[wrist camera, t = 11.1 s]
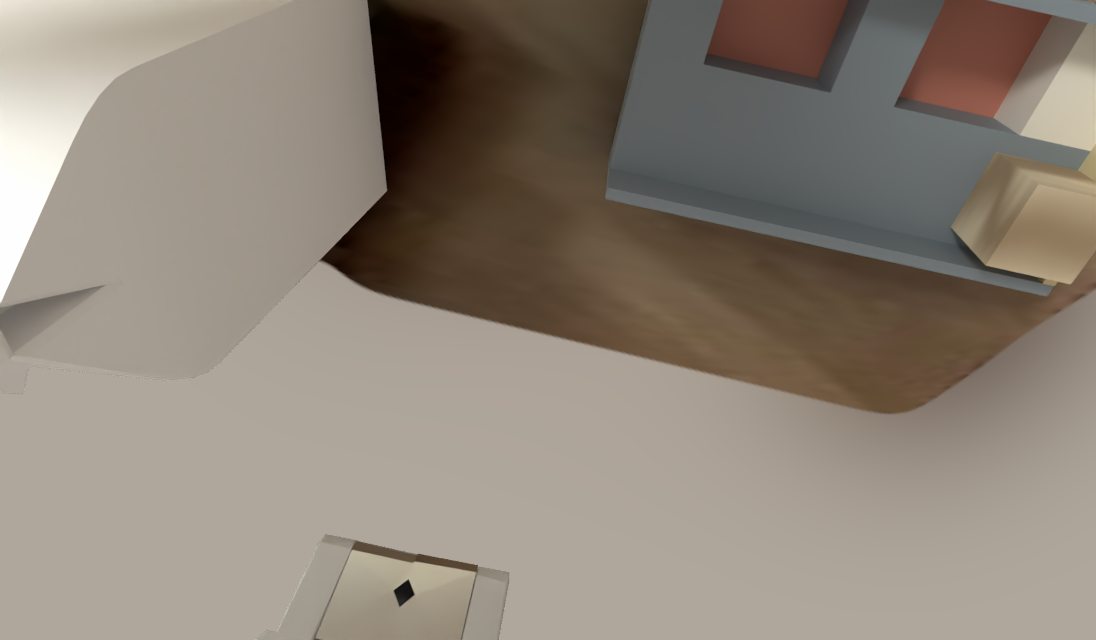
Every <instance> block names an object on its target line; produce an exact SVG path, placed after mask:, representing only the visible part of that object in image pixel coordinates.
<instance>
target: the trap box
mask: <svg viewBox="0 0 1096 640" xmlns="http://www.w3.org/2000/svg"><path fill="white" fill-rule="evenodd" d="M995 152H999V153H1004V154H1008V155H1013V156H1017V157H1021V158H1026V159H1030V160H1035V161H1039V162H1044V163H1048V164H1052V165H1057V166H1061V167H1066V168H1070V169H1075V170H1078V171H1080V172H1081V173H1083V174H1084V175H1086V176H1087V177H1089V178H1090V179H1092V180H1093V181H1095V182H1096V3H1095V2H1091V1H1086V0H648V4H647V8H646V12H645V16H644V20H643V24H642V28H641V32H640V36H639V40H638V44H637V48H636V52H635V56H634V60H633V64H632V68H631V72H630V76H629V80H628V84H627V88H626V92H625V96H624V100H623V104H622V108H621V112H620V116H619V120H618V124H617V128H616V132H615V136H614V140H613V144H612V148H611V152H610V156H609V162H608V173H607V183H606V194H605V199H607V200H612V201H616V202H621V203H625V204H630V205H634V206H639V207H643V208H648V209H652V210H657V211H661V212H666V213H671V214H675V215H680V216H684V217H689V218H693V219H698V220H702V221H707V222H711V223H716V224H720V225H725V226H729V227H734V228H738V229H743V230H748V231H752V232H757V233H761V234H766V235H770V236H775V237H779V238H784V239H788V240H793V241H797V242H802V243H806V244H811V245H815V246H820V247H825V248H829V249H834V250H838V251H843V252H847V253H852V254H856V255H861V256H865V257H870V258H874V259H879V260H883V261H888V262H892V263H897V264H902V265H906V266H911V267H915V268H920V269H924V270H929V271H933V272H938V273H942V274H947V275H951V276H956V277H960V278H965V279H969V280H974V281H979V282H983V283H988V284H992V285H997V286H1001V287H1006V288H1010V289H1015V290H1019V291H1024V292H1028V293H1033V294H1037V295H1042V296H1046V297H1047V296H1048V295H1049V293H1050V292H1051V291H1052V289H1053V288H1054V286H1055V285H1056V284H1057V281H1053V280H1048V279H1044V278H1039V277H1035V276H1030V275H1026V274H1022V273H1017V272H1013V271H1008V270H1004V269H999V268H995V267H990V266H986V265H985V264H984V263H983V262H982V261H981V260H980V259H979V258H978V257H977V255H976V254H975V253H974V252H973V251H972V250H971V249H970V248H969V247H968V246H967V244H966V243H965V242H964V241H963V240H962V239H961V238H960V237H959V236H958V235H957V233H956V232H955V231H954V230H953V229H952V228H951V226H952V224H953V222H954V221H955V219H956V217H957V216H958V214H959V212H960V211H961V209H962V207H963V206H964V204H965V202H966V201H967V199H968V197H969V196H970V194H971V192H972V191H973V189H974V187H975V186H976V184H977V182H978V180H979V179H980V177H981V175H982V174H983V172H984V170H985V169H986V167H987V165H988V164H989V162H990V160H991V159H992V157H993V155H994V154H995Z"/></svg>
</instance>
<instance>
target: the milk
mask: <svg viewBox="0 0 1096 640" xmlns="http://www.w3.org/2000/svg"><path fill="white" fill-rule="evenodd" d="M386 191H387V185H386V176H385V166H384V156H383V147H382V137H381V128H380V118H379V109H378V99H377V89H376V80H375V70H374V61H373V51H372V42H371V32H370V22H369V13H368V3H367V0H0V393H4V394H23V392H24V388H25V383H26V379H27V374H28V370H29V367H38V368H48V369H57V370H67V371H77V372H86V373H97V374H107V375H115V376H125V377H135V378H145V379H155V380H175V379H185V378H194V377H197V376H199V375H202V374H204V373H207V372H209V371H210V370H211V369H213V368H214V367H215V366H216V365H218V364H219V363H220V362H221V361H222V360H223V359H224V358H225V357H226V356H227V355H228V354H229V353H230V352H231V351H232V350H233V349H234V348H235V347H236V346H237V345H238V344H239V343H240V342H241V341H242V340H243V339H244V338H245V337H246V336H247V335H248V334H249V333H250V331H251V330H252V329H253V328H254V327H255V326H256V325H257V324H258V323H259V322H260V321H261V320H262V319H263V318H264V317H265V316H266V315H267V314H268V313H269V312H270V311H271V310H272V309H273V308H274V307H275V306H276V305H277V304H278V303H279V302H280V301H281V299H283V298H284V296H285V295H286V294H287V293H288V292H289V291H290V290H291V289H292V288H293V287H294V286H295V285H296V284H297V283H298V282H299V281H300V280H301V279H302V278H303V277H304V276H305V275H306V274H307V273H308V272H309V271H310V270H311V269H312V267H314V266H315V265H316V264H317V262H318V261H319V260H320V259H321V258H322V257H323V256H324V255H325V254H326V253H327V252H328V251H329V250H330V249H331V248H332V247H333V246H334V245H335V244H336V243H337V242H338V241H339V240H340V239H341V238H342V237H343V236H344V235H345V234H346V233H347V232H348V231H349V230H350V229H351V227H352V226H353V225H354V224H355V223H356V222H357V221H358V220H359V219H360V218H361V217H362V216H363V215H364V214H365V213H366V212H367V211H368V210H369V209H370V208H371V207H372V206H373V205H374V204H375V203H376V202H377V201H378V200H379V199H380V198H381V197H382V196H383V195H384V194H385V192H386Z"/></svg>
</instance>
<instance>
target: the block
mask: <svg viewBox="0 0 1096 640" xmlns="http://www.w3.org/2000/svg"><path fill="white" fill-rule="evenodd" d="M951 228H952V229H953V230H954V231H955V232H956V233H957V235H958V236H959V237H960V238H961V239H962V240H963V241H964V242H965V243H966V244H967V246H968V247H969V248H970V249H971V250H972V251H973V252H974V253H975V254H976V255H977V257H978V258H979V259H980V260H981V261H982V262H983V263H984V264H985V265H986V266H990V267H995V268H999V269H1004V270H1008V271H1013V272H1017V273H1022V274H1026V275H1030V276H1035V277H1039V278H1044V279H1048V280H1053V281H1057V282H1062V283H1066V284H1071V283H1072V282H1073V281H1074V279H1075V278H1076V277H1077V275H1078V274H1079V273H1080V271H1081V270H1082V269H1083V267H1084V266H1085V265H1086V263H1087V262H1088V261H1089V259H1090V258H1091V257H1092V255H1093V254H1094V253H1095V252H1096V182H1095V181H1093V180H1092V179H1090V178H1089V177H1087V176H1086V175H1084V174H1083V173H1081V172H1080V171H1078V170H1075V169H1070V168H1066V167H1061V166H1057V165H1052V164H1048V163H1044V162H1039V161H1035V160H1030V159H1026V158H1021V157H1017V156H1013V155H1008V154H1004V153H999V152H995V154H994V155H993V157H992V159H991V160H990V162H989V164H988V165H987V167H986V169H985V170H984V172H983V174H982V175H981V177H980V179H979V180H978V182H977V184H976V186H975V187H974V189H973V191H972V192H971V194H970V196H969V197H968V199H967V201H966V202H965V204H964V206H963V207H962V209H961V211H960V212H959V214H958V216H957V217H956V219H955V221H954V222H953V224H952V226H951Z"/></svg>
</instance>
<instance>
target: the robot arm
mask: <svg viewBox="0 0 1096 640" xmlns="http://www.w3.org/2000/svg"><path fill="white" fill-rule="evenodd" d="M477 568H478V570H477ZM476 573H477V574H476ZM475 578H476V579H475ZM508 584H509V572H505V571H499V570H494V569H489V568H484V567H478V565H474V564H468V563H463V562H458V561H453V560H448V559H443V558H437V557H432V556H427V555H422V554H414V553H409V552H405V551H399V550H395V549H391V548H386V547H381V546H377V545H373V544H368V543H363V542H359V541H357V540H351V539H347V538H342V537H337V536H332V535H327V534H326V535H325V536H324V537H323V538H322V539H321V541H320V542H319V543H318V545H317V547H316V549H315V551H314V553H313V556H312V558H311V560H310V562H309V564H308V566H307V568H306V570H305V572H304V574H303V577H302V579H301V581H300V583H299V585H298V587H297V589H296V591H295V594H294V595H293V598H292V600H291V602H290V604H289V606H288V608H287V610H286V612H285V614H284V617H283V619H282V621H281V623H280V625H279V627H278V629H277V631H276V632H275V631H269V630H266V631H265V632H263V633H262V634H261V635H259V636H258V637H257V638H255V639H254V640H499V635H500V629H501V624H502V618H503V612H504V607H505V601H506V595H507V590H508Z"/></svg>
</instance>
